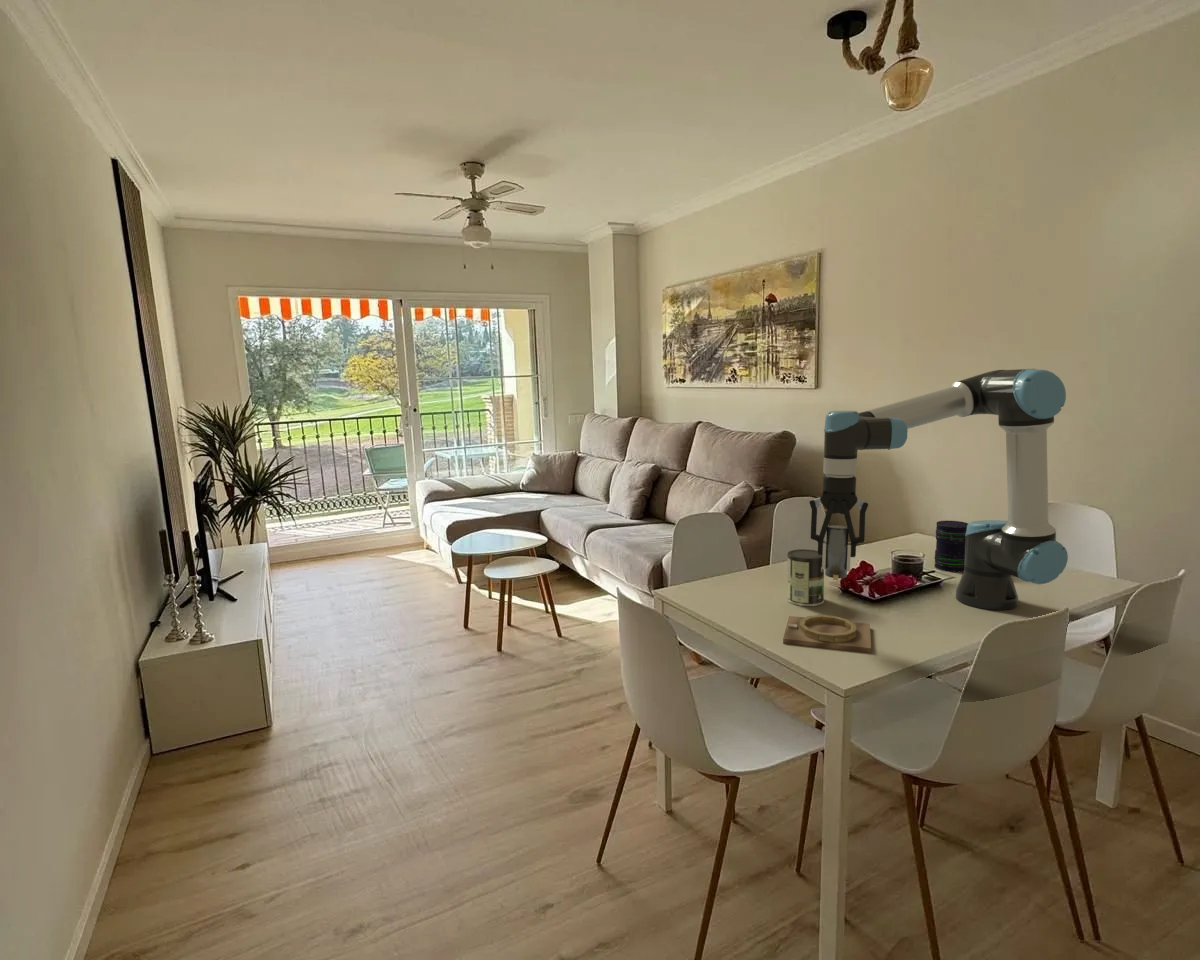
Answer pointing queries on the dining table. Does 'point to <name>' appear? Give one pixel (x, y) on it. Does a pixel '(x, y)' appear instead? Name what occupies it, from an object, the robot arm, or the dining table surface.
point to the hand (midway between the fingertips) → (836, 568)
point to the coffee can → (805, 578)
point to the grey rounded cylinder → (836, 552)
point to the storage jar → (950, 546)
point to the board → (828, 633)
